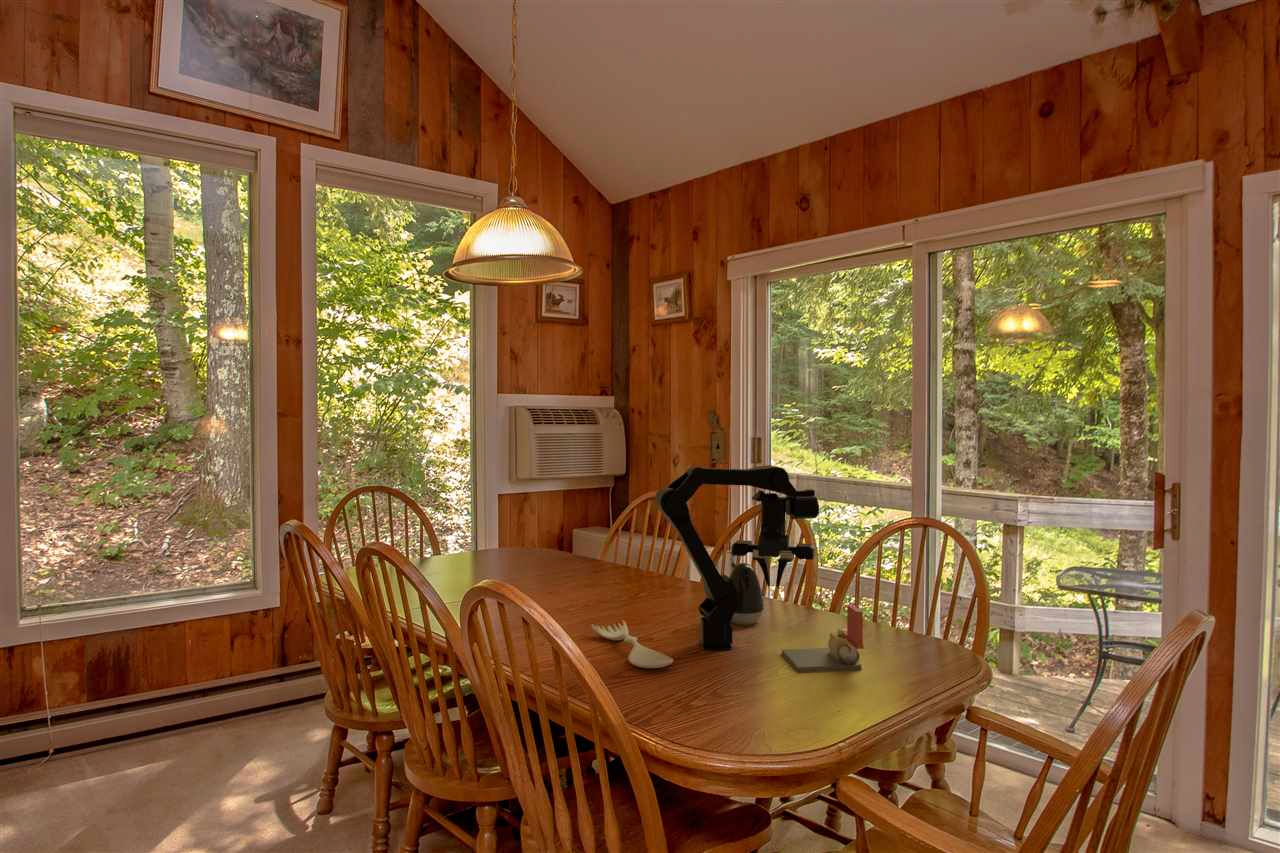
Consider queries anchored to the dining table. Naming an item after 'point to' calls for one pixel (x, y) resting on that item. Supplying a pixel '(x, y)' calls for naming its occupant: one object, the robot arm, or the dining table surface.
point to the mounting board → (815, 660)
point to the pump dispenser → (747, 594)
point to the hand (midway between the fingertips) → (773, 586)
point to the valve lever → (853, 627)
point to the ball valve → (842, 649)
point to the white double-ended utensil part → (635, 647)
